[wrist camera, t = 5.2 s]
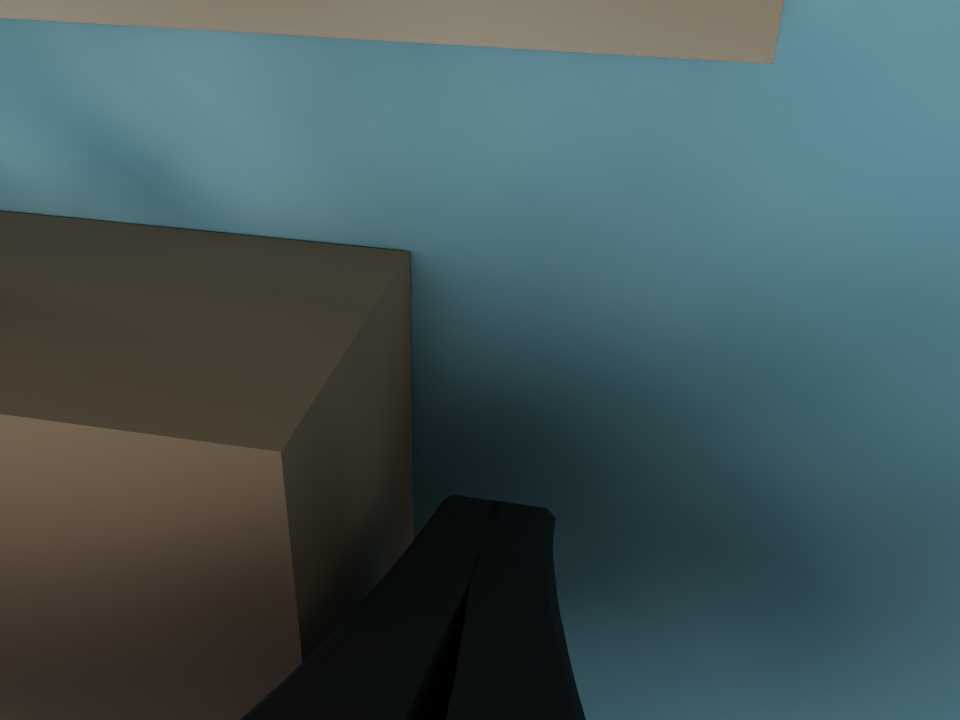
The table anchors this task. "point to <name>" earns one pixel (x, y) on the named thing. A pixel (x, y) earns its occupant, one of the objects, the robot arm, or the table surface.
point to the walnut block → (191, 461)
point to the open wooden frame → (462, 22)
